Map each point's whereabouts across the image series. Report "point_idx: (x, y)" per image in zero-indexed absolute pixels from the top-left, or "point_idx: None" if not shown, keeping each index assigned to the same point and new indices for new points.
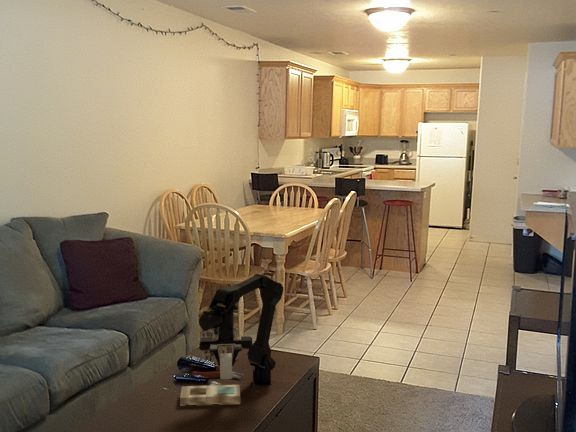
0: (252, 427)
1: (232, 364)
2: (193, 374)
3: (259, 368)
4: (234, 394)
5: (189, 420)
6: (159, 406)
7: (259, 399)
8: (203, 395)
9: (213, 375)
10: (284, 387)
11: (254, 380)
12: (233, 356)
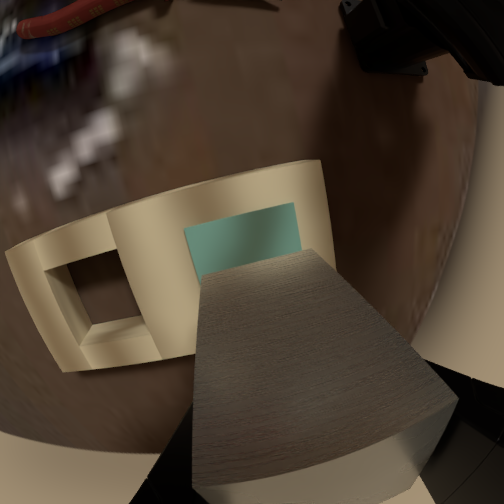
0: None
1: None
2: (23, 37)
3: (429, 32)
4: None
5: (164, 429)
6: (23, 354)
7: (399, 231)
8: (143, 345)
9: (114, 2)
10: (463, 105)
11: (364, 45)
12: (432, 484)
